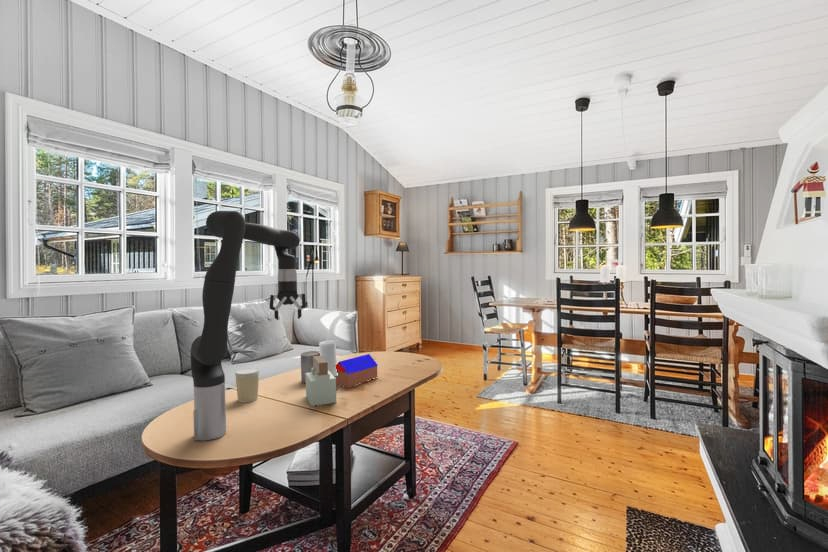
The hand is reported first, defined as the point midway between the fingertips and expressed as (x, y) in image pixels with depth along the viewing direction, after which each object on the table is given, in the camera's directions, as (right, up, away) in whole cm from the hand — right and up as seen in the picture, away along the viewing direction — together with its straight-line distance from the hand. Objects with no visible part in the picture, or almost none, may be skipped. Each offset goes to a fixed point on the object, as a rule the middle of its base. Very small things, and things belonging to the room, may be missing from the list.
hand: (288, 319), depth 163 cm
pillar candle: (+2, -34, +30) cm, 45 cm away
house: (+24, -34, +28) cm, 50 cm away
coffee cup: (-18, -35, +3) cm, 39 cm away
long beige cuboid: (+13, -22, +1) cm, 26 cm away
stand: (+13, -34, +2) cm, 36 cm away
